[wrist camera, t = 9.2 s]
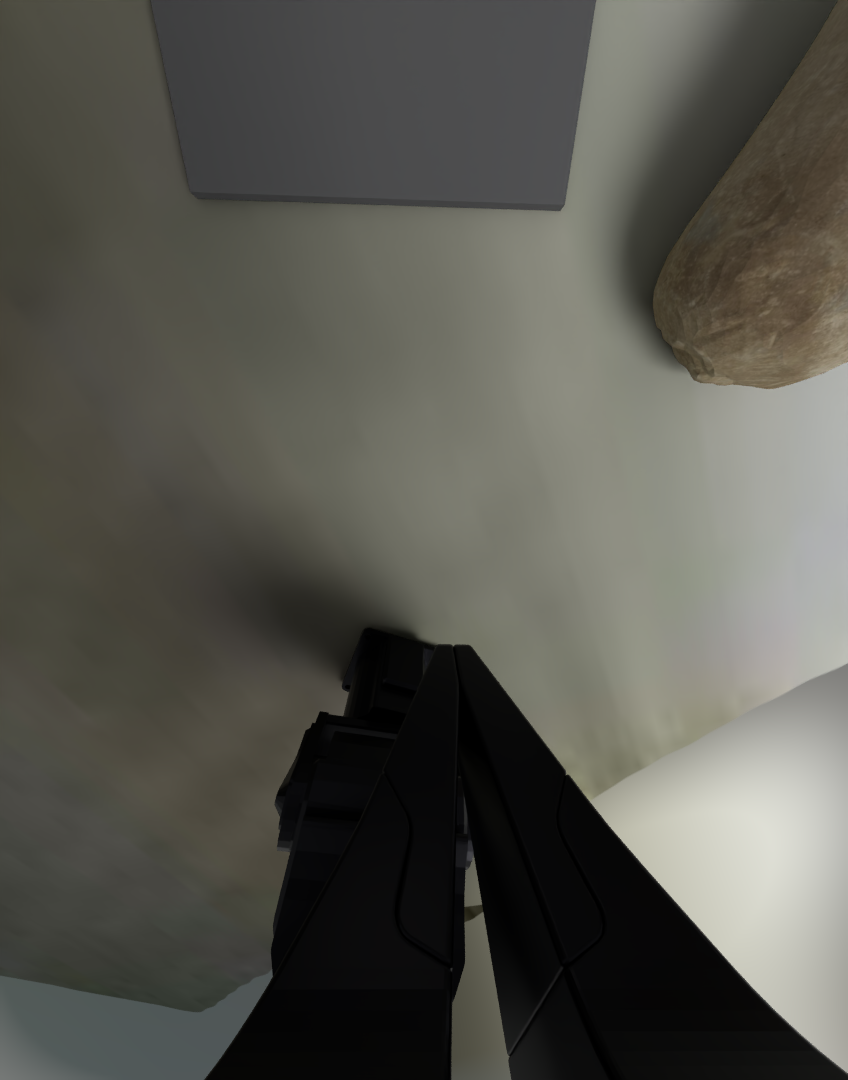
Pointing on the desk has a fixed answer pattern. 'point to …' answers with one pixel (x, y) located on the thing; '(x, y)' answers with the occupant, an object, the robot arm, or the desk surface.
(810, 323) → the sculpture
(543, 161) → the mat
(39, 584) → the desk surface
